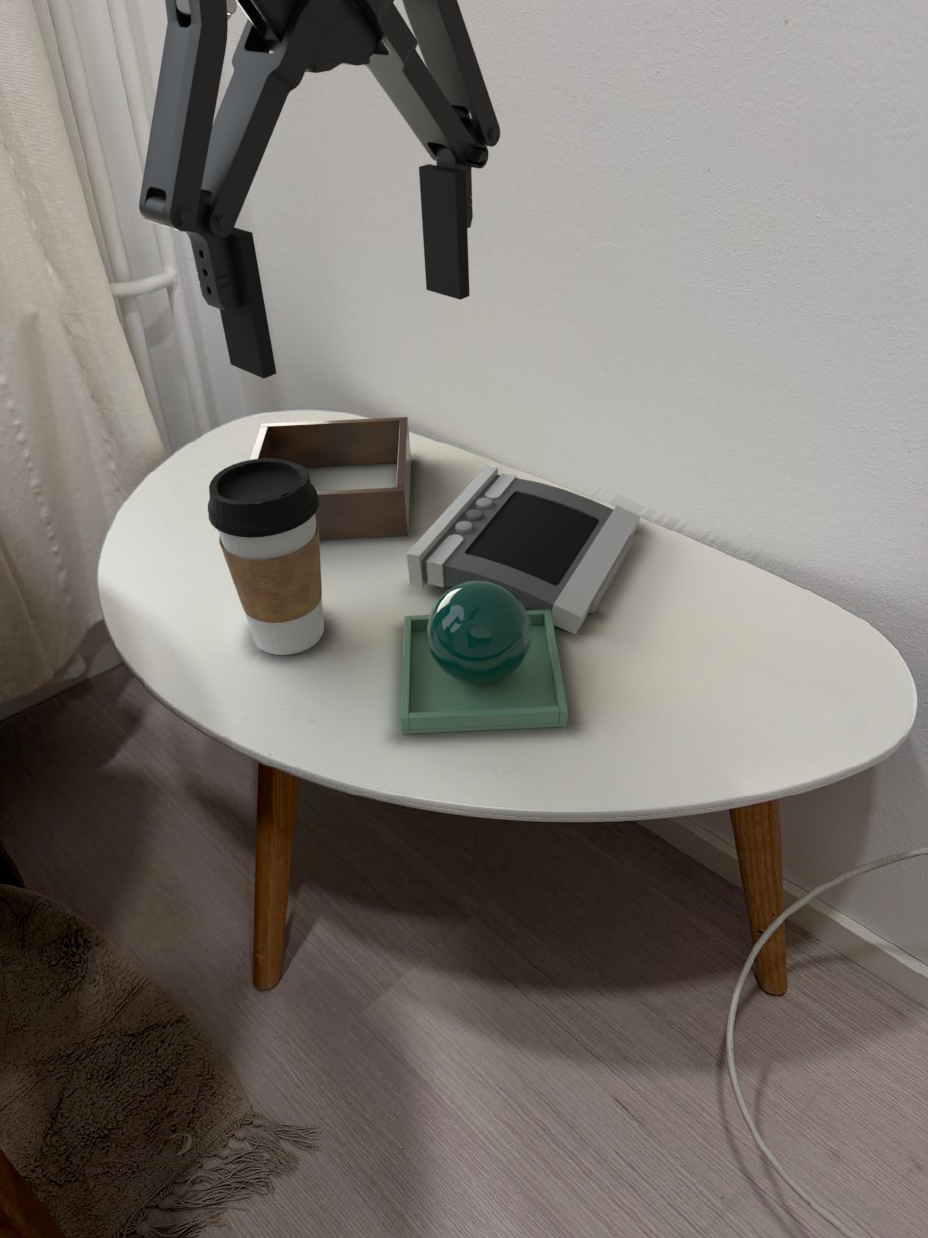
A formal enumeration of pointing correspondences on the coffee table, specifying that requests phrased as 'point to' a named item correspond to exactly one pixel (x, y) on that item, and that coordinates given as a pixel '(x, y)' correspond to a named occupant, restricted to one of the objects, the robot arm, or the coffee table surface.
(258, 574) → the coffee cup
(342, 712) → the coffee table surface
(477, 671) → the sphere
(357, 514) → the box
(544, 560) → the alarm clock
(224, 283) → the robot arm
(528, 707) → the tray
